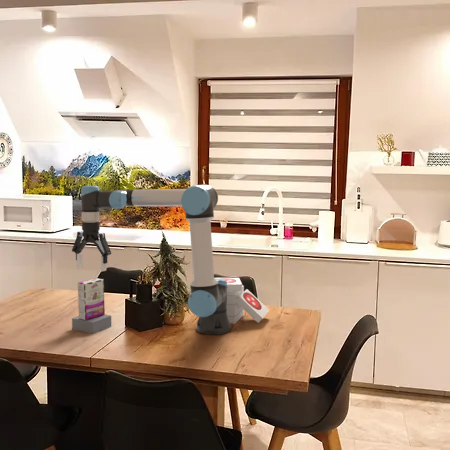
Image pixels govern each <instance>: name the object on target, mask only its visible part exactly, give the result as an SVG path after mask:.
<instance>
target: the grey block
mask: <svg viewBox="0 0 450 450" xmlns="http://www.w3.org/2000/svg"><path fill="white" fill-rule="evenodd" d="M111 327H112V315H111V314H110V315H109V314H105V315H102V316H99V317H96V318H92V319H89V320H82V319H79V315H78V316H75V317H72V318H71V330H74V331H79V332H82V333H89V334H96V333H98V332H101V331H103V330H105V329H106V330H107V329H109V328H111Z"/></svg>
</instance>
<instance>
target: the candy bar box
mask: <svg viewBox="0 0 450 450" xmlns="http://www.w3.org/2000/svg"><path fill="white" fill-rule="evenodd" d="M77 295H78V296H77V299H78V300H77V301H78V316H79V319H82V320H89V319H92V318H96V317H99V316H102V315H106V314H105V311H106V310H105V280H104V278H98V277H97V278H93V279H88V280H84V281H79V282H77Z"/></svg>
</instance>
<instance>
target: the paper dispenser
mask: <svg viewBox="0 0 450 450" xmlns="http://www.w3.org/2000/svg"><path fill="white" fill-rule="evenodd" d="M216 278H217V279H224V280H226V281H227V286H228V287H227V315H228V318H229V322H230V324H234V325H235V324H236V323H238V321H240V319H241V318H242V317H243V316H244V311H245V312H246V313H247V314H248V315H249V316H250V317H251V318H252V319H253V320H254V321H255V322H257V323H258V324H259V323H260V322H261V321H262V320H263V319H264V318H265V316H266V315H267V314H268V313H269V311H270V309H269V308H268V307H267V306H266V305H265V304H264V303H263V302H261V300H259V298H257V297H256V296H255V295H254V294H253V293H252V292H251V291H250V290H249V289H247V288H246V289H245V285H243V283H242V281H241V279H240V277H216Z"/></svg>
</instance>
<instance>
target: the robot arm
mask: <svg viewBox="0 0 450 450" xmlns="http://www.w3.org/2000/svg"><path fill="white" fill-rule="evenodd" d="M80 193H81V194H80V200H81V221H82V222H81V230H82V231H77V232H76V238H75V241H74V243H73V246H72V249H71V252H73V253H75V261H76V269H81V268H83V252H82V251H83V250H84V248H85V246H86V245H87V244H89V243H91V244H94V245H95V246H96V248H97V249H98V251H99V252H100V254H101V256H100V272H105V271H107V264H108V256H110V255H112V251H111V249H110V246H109V244H108V241H107V238H106V233H105V232H102V233H100V232H99V231H100V229H101V228H100V227H101V226H100V223H101V222H100V209H114V210H117V209H124V208H125V207H182V209H183V210H184V212H185V213H184V214H185V220H186V221H187V222H188V223H189V230H190V232H189V233H190V246H191V247H190V248H191V262H192V263H191V264H192V275H193V276H192V277H193V279H192V281H191V282H190V284H189V286H190V288H189V289H190V294H189V296H188V299H187V306H188V309H189V310H190V312H191V313H192V314H193V315H195V316H196V317H198V319H197V322H196V331H197V332H199V333H201V334H204V335H205V334H206V335H223V334H227V333H229V332H230V331H231V323H230V322H229V318H228V315H227V287H228V286H227V281H226V280H224V279H217V278H218V277H215V274H214V272H215V271H214V259H213V257H214V256H213V255H214V254H213V241H212V240H213V239H212V226H211V225H212V223H211V221H212V220H213V219H214V217H215V215H214V209H215V208H216V206H217V204H218V202H219V195H218V191H217V190H216V189H215V188H214V187H213V186H212V185H209V184H196V185H194V184H193V185H191V186H188V187H187V188H183V189H182V188H176V189H175V188H172V189H171V188H167V189H165V188H162V189H157V188H156V189H154V188H153V189H147V188H145V189H127V188H126V189H117V190H100V187H99V186H98V185H83V186H82V187H81V191H80Z"/></svg>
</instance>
